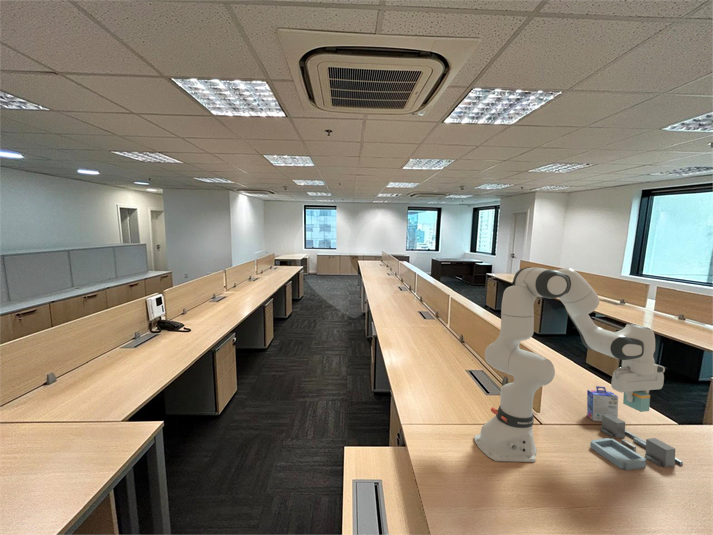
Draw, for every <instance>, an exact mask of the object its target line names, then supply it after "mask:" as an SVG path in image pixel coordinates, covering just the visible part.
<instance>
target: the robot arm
mask: <svg viewBox="0 0 713 535" xmlns="http://www.w3.org/2000/svg"><path fill="white" fill-rule="evenodd" d="M537 298H545V299H548V300H549V299H550V300H553V299H558V300H560V302H561V303H562V304H563V305H564V308H565V312H566V313H567V315H568V317H569V318H570V320H571V321H572V323H573V324H574V326H575V328H576V329H577V331H578V333H579V335H580V340H581V343H582V344H583V346H584V347H585V348H586V349H588V350H591V351H594V352H598V353H600V354H602V355H605V356H608V357H611V358H614V359H616V360H619V361H622V362H621V367H617V368H616V369H615V370H614V371H613V373H612V378H611V383H610V384H611V385H610V386H611V389H613V390H614V391H616V392H619V393H623V394H624V392H625V394H626V396H627V401H629V402H634V401H635V398H634V397H633V396H632V394H633V392H634V391H643V392H645V393H648V394H649V393H650V391H652V390H653V391H654V390H662V388H663V386H664V380H665V375H664V373H665V371H666V367H664V366H662V365H660V364H656V362H655V358H654V355H655V354H654V353H655V352H656V337H655V333H654V330H653V329H651V328H649V327H647V326H642V325H639V324H633V323H627V324H626V325H625V327H623V328H622V329H620V330H617V331H611V330H607V329H604V328H603V327H600V326H598V325H596V324H595V323H594V321H593V320H592V318H591V316H590V315H589V314H591V313H593V312H594V311H595V310H597V308H598V307H599V305H600V299H599V298H600V297H599V295H598V294H597V292H596V291H595V289H594V288H593V287H592V285H591V284H589V282H588V281H587V280H586V279H585V278H584V277H583V276H582V275H581V274H580V273H579V272H577V271H576V270H575V269H573V268H569V267H564V268H560V269H558V270H556V269H548V268H544V267H537V266H536V267H531V266H528V267H522V268H520V269H518V270H517V271H516V273H515V274H514V276H513V280H512V281H511V286H508V287H506V288H505V290H504V291H503V295H502V299H501V308H500V309H501V310H500V311H501V312H500V317H501V318H500V331H499V334H498V337H497V338H496V339H495V340H494V341H493V342H491V343H489V344H488V345H487V347H486V348H485V350H484V359H485V361H486V363H487V364H488V365H489V366H491V367H492V368H494V369H495V370H497V371H498V372H499V371H500V372H503V373H505V374H507V375H510V376H512V377H513V382H509V383H506V384H504V385H503V386H502V387H501V389H500V398H499V399H500V401H499V402H500V403H499V406H498V409H496V407H495V406H492V407H491V408H490V411H491V413H493V414H494V415H495V416H494V417H492V418H491V419H489V420H488V421H487V422H486V423H484V424H483V425H482V426H481V429H480V433H478V434H475V435H473V436H474V437H473V438H474V439H473V440H474V443H475V444H477V445H476V446H477V447H478V449H479V450H480V451H481V452H482V453H484V455H485V456H487V457H488V458H489V459H491V460H493V461H495V462H517V463H518V462H521V463H522V462H526V463H535V462H536V455H537V447H536V442H535V439H534V438H535V437H534V430H533V426H534V422H535V420H534V413H533V404H534V396H535V394H536V392H537V390H539V389H540V388H541V387H543V386H547V385H549V384H550V383H551V382H552V381H553V380H554V378H555V375H556V370H555V366H554V364H553V363H552V361H551V360H550V359H548V358H547V357H545V356H542V355H540V354H539V353H537V352H532V351H529V350H525V349H522V348H520V344H521V342H523V341H527V340H529V339H531V338H532V337H533V335H534V329H535V328H534V326H535V325H534V324H535V318H534V317H535V314H534V313H535V312H534V311H535V309H534V306H535V301H536V299H537Z"/></svg>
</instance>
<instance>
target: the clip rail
mask: <svg viewBox="0 0 713 535" xmlns="http://www.w3.org/2000/svg"><path fill="white" fill-rule="evenodd" d="M600 432H602V433H603V434H605V435H607V436H608V437H610V438H615V437H614V434H613V433H612V432H610V431H608V430H607V429H605V428H603V427H602V426H601V427H600ZM626 436H627V437H629V438H631V439H633V442H634V443H635V444H637V445H639V446H641V447H642V448H644V449H645V450H646V439H645V440H644V439H643V438H641V437H639V436H637V435H636V434H634V433H632V432H631V431H629V430H626V429H625V437H626ZM620 443H621V444H622V445H624V446H626V447H627V448H629V449H631V450H632V451H634V452H635V451H637V446H636V445H634V444H632V443H631V442H629V441H627V440H626V439H624V438H622V439H621V442H620ZM644 458H646V460H647V461H650V462H651V463H653V464H655V465H656V466H658V467H663V466H662V462H661V461H659V460H658V459H656V458H654V457H653V456H651V455H649V454H647V453H646V452H645V453H644ZM675 464H678V465H679V466H683V464H684V461H682V460H680V459H679V458H677V457H675Z"/></svg>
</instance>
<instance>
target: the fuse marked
mask: <svg viewBox="0 0 713 535" xmlns="http://www.w3.org/2000/svg"><path fill="white" fill-rule="evenodd" d="M632 396H633V397H634V398H635V401H634V402H629V401H627V396H626V394H625V392H623V399H622V404H623V405H625V406H627V407H628V408H631V409H634V410H636V411H639V412H640V413H642V412H643V413H644V412H650V401H651V394H649V393H645V392H643V391H634V392H633V394H632Z"/></svg>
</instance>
